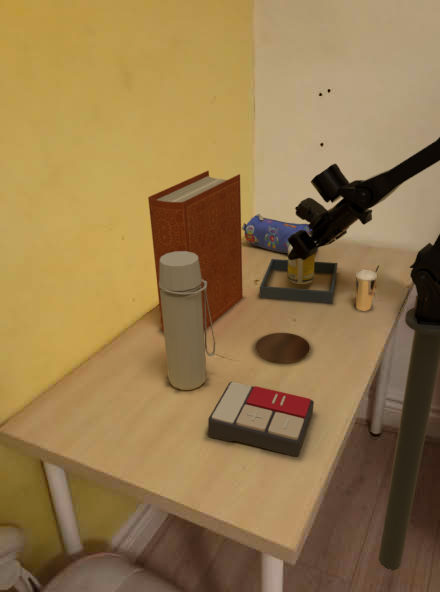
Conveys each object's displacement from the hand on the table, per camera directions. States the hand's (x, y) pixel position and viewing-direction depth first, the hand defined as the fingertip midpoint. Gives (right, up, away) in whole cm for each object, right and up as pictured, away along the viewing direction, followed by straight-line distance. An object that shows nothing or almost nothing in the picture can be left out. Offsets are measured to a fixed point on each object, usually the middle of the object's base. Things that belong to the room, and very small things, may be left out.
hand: (296, 253), depth 132 cm
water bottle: (-24, -27, -30) cm, 47 cm away
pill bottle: (+1, -6, +2) cm, 7 cm away
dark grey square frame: (+1, -8, +3) cm, 8 cm away
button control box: (-12, -33, -42) cm, 55 cm away
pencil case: (-1, +3, +24) cm, 24 cm away
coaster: (-6, -22, -22) cm, 32 cm away
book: (-23, -15, -8) cm, 28 cm away
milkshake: (+15, -13, -8) cm, 21 cm away
